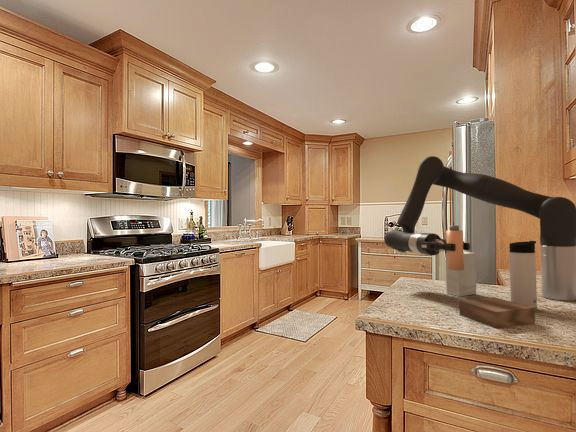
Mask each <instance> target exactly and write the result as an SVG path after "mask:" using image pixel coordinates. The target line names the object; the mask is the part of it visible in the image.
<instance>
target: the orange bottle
mask: <svg viewBox="0 0 576 432" xmlns="http://www.w3.org/2000/svg"><path fill="white" fill-rule="evenodd" d="M463 231H464V230H461V229H460V226H459V224H458V225H449V229H448V230H447V229H446V230H445V235H446V236H445V237H446V238H445V239H446V240H447V243H451V244H455V245H456V250H455V251H447V250H446V253H447V264H448V269H449V270H464V251H465V250H464V248H463V241H464V232H463Z"/></svg>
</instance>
